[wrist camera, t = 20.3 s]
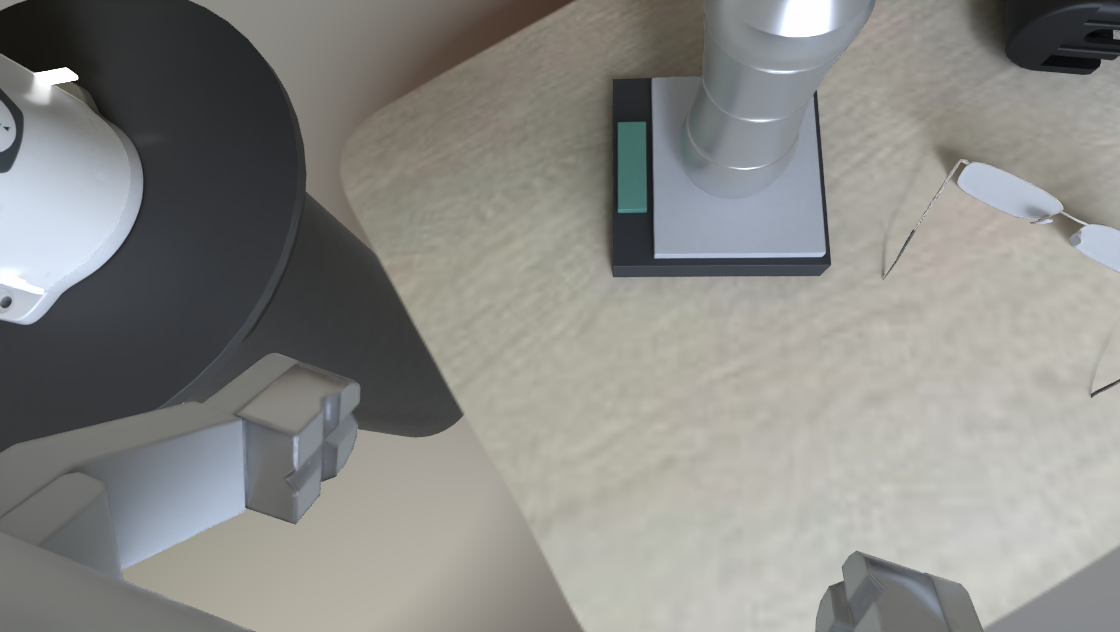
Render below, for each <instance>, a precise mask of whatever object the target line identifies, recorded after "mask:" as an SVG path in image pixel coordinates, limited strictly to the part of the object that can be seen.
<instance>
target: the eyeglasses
mask: <svg viewBox="0 0 1120 632" xmlns="http://www.w3.org/2000/svg"><path fill="white" fill-rule="evenodd" d="M961 162H962V163H964V164H967V166H966V167H965V168H964V169H963V170H962V172H961V174H960V176H959V178H958V185H959V187H960V188H961V189H962V190H963V191H965V192H966V193H968V194H969V195H971V196H973V197H975V198H977V199H978V200H980V201H982V202H984V203H986V204H988V205H990V206H992V207H994V208H996V209H998V210H1000V211H1003V212H1005V213H1007V214H1009V215H1012V216H1015V217H1018V218H1025V219H1032V218H1040V219H1038V220H1039V221H1036V222H1030V224H1042V223H1049V222H1052V221H1053V220H1052V219H1048V218H1050V217H1051V216H1052V215H1055V214H1058V213H1062V214H1064V215H1066V216H1068V217H1069V218H1071V219H1073V220H1075V221H1077V222H1079V223H1082V224H1084V225H1085V226H1083V227H1081V228H1080V229H1079V230H1078V231H1077V232H1076V233H1075V234H1073V235H1072V236H1071V237H1070V239H1069V242H1070V244H1071V245H1072V246H1073V247H1074V248H1076V249H1077V250H1078V251H1080V252H1081V253H1083V254H1085V255H1086V256H1088V257H1090V258H1092V259H1093V260H1095V261H1097V262H1099V263H1100V264H1102V265H1104V266H1106V267H1108V268H1110V269H1112V270H1114V271H1116V272H1118V273H1120V230H1119V229H1117V228H1114V227H1111V226H1107V225H1103V224H1095V223H1093V224H1088V223H1086V222H1084V221H1081V220H1079V219H1077V218H1075V217H1073V216H1071V215H1070V214H1068V213H1066V212H1064V211H1062V210H1063V205H1062V204H1061V202H1060V201H1059V200H1058V199H1056V198H1055V197H1054V196H1052V195H1051V194H1049V193H1048V192H1046V191H1045V190H1043V189H1041V188H1039V187H1037V186H1036V185H1034V184H1032V183H1030V182H1028V181H1026V180H1024V179H1022V178H1020V177H1018V176H1016V175H1013V174H1011V173H1009V172H1007V171H1005V170H1002V169H1000V168H997V167H995V166H992V165H990V164H987V163H983V162H978V161H973V162H971V161H969V160H966V159H961V160H959V161H958V162H957V163H956V164H955V166H954V167H953V169H952V170H951V172H950V174H949V175H948V177H947V178H946V180H945V181H944V183H943V185H942V186H941V188H940V189H939V191H938V192H937V194H936V196H935V197H934V199H933V200H932V202H931V203H930V205H929V207H928V208H927V210H926V211H925V213H924V215H923V216H922V218H921V219H920V221H919V222H918V224H917V226H916V227H915V229H914V230H913V231H912V232H911V234H910V236H909V237H908V239H907V241H906V242H905V244H904V246H903V248H902V250H901V252H900V253H899V255H898V257H897V259H896V261H895V262H894V264H893V265H892V267H891V268H890V270H889V271H888V273H889V272H890V271H891V269H892V268H893V266H894V265H895V264H896V262H897V261H898V259H899V257H900V256H901V254H902V253H903V251H904V249H905V247H906V246H907V244H908V242H909V241H910V239H911V237H912V236H913V234H914V233H915V230H916V229H917V227H918V226H919V224H920V223H921V221H922V220H923V218H924V217H925V215H926V214H927V212H928V211H929V209H930V208H931V206H932V205H933V203H934V202H935V200H936V199H937V197H938V196H939V194H940V193H941V191H942V190H943V188H944V187H945V185H946V184H947V182H948V181H949V179H950V178H951V176H952V175H953V173H954V172H955V170H956V169H957V167H958V166H959V164H960V163H961ZM1046 217H1047V218H1046ZM888 273H887V274H886V276H887V275H888ZM886 276H885V277H886ZM885 277H884V279H885ZM884 279H883V280H884ZM1118 383H1120V379H1119V380H1117V381H1116V382H1114V383H1111V384H1109V385H1107V386H1105V387H1103V388H1101V389H1099V390H1097V391H1095V392H1094V393H1092V394H1091V398H1092V397H1094V396H1095V395H1097V394H1098V393H1100V392H1102V391H1105V390H1107V389H1109V388H1111V387H1113V386H1114V385H1116V384H1118Z"/></svg>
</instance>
